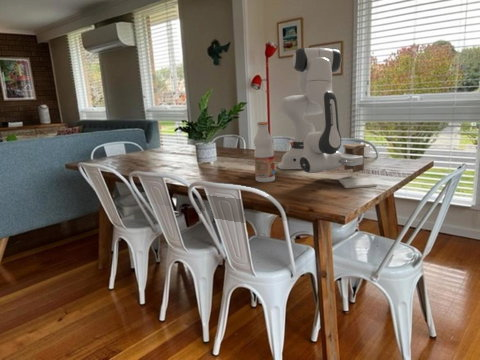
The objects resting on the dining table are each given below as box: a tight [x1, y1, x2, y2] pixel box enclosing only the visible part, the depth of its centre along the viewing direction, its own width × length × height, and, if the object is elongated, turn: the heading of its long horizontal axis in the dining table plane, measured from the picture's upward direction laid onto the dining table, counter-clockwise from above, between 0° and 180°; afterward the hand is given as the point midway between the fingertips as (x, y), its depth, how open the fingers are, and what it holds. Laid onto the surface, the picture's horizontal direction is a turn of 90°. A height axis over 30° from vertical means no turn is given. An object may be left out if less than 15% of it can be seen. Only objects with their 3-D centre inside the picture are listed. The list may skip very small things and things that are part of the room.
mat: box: [338, 177, 378, 189], centre depth 160 cm, size 13×12×1 cm
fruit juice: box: [253, 121, 276, 183], centre depth 174 cm, size 9×9×28 cm
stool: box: [342, 142, 366, 173], centre depth 170 cm, size 7×7×12 cm
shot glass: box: [364, 143, 372, 158], centre depth 221 cm, size 7×7×7 cm
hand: (355, 155), depth 171 cm, fingers closed on stool, 6 cm apart
